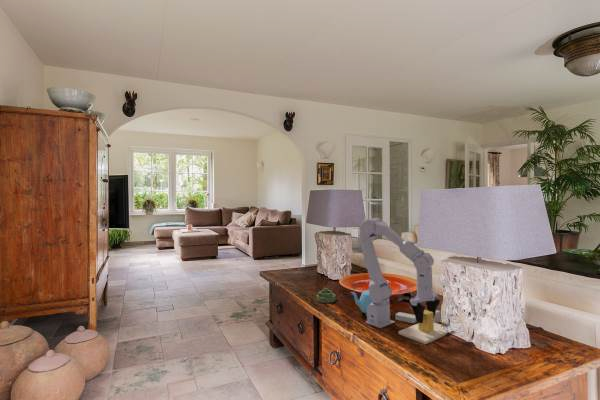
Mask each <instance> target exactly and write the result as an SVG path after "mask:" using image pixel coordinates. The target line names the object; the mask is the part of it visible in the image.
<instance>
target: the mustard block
mask: <svg viewBox="0 0 600 400" xmlns="http://www.w3.org/2000/svg"><path fill="white" fill-rule="evenodd" d="M417 324H418V327H419V330H420V331H423V332H426V333H429V332H431V331H433V330H434V321H433V312H431V311H427V309H424V313H423V322H422V323H418V322H417Z"/></svg>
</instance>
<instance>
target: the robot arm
mask: <svg viewBox="0 0 600 400" xmlns="http://www.w3.org/2000/svg"><path fill="white" fill-rule="evenodd" d="M358 228H359V235H358V237H359V238H358V241H359V245H360V249H361V253H362V256H363V259H364V263H365V267H366V269H367V273H368V277H369V280H370V281H369V283H368V289H369V297H370V299H371V301H372V303H371V304H370V305H368V307H367V316H366V318H367V319H366V320H365V323H366V324H368V325H371V326H374V327H376V328H378V329H382V328H385V327H386V326H387V327H388V326H389V325H392V324H395V322H396V320H395V321H394V320H392V319H391V308H390V307H391V306H390V305H391V303H390V297H391V296H392V294H393V292H392V291H393V290H392V287H391V286H390V285H389V283H388V281H387V279H386V278H385V277H384V276H383V274H382V270H381V266H380V263H379V259H378V256H377V252H376V249H375V245H374V242H373V241H374V240H375V238H376V236H377V235H378V236H384V237H385V238H386V239H388V240H390V242H392V243H393V244H394V245H396V246H397V247H398V248H399V252H400V253H401V254H402V255H404V256H405V257H406V258H407V259H408V260H409V261H411V262H412V263H413V265H414V267H415V269H416V270H415V271H416V296H415V297H414V298H412V300H411V303H410V302H409V306H411V308H412V311H413V315H415V317H416V323H417V324H418V323H422V322H423V313H424V310H428V311H431V312H433V318H434V317H435V312H436V310H438V309H437V308H438V306H439V304H440V302H441V300H440V299H439V293H437V292H434V290H433V267H432V266H433V265H434V263H435V261H434V260H435V259H434V258H433V256H432V255H431V254H430V253H428V252H425V250H423V249H420V248H419V247H418V246H417V245H416V243H415V241H414V240H413V241H411V240H405V239H404V238H402V237H401V236H400V235H399V234H398V233H397V232H396V231H395V230H393V229H392V228H391V227H390V226H389V225H388V224H387V222H386V221H384V220H382V218H379V217H374V218H366V219H363V220H362V221H361V223H360V225H359V227H358ZM421 303H422V304H423V303H425V304H426V306H425V305H421ZM426 308H427V309H426Z"/></svg>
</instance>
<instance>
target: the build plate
mask: <svg viewBox="0 0 600 400" xmlns="http://www.w3.org/2000/svg"><path fill="white" fill-rule="evenodd" d="M408 292H409V293H405V294H403V293H402V297H398V298H397V302H403V303H410V299H413V293H412V291H408Z"/></svg>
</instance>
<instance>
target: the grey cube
mask: <svg viewBox="0 0 600 400" xmlns="http://www.w3.org/2000/svg"><path fill="white" fill-rule="evenodd" d="M426 310H427V309H426ZM427 311H428V310H427ZM441 316H442V315H441V310H438V309H436V312H435V317H434V318H433V321H434V323H437V324H440V323H441V322H440V321H442V318H441Z"/></svg>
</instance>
